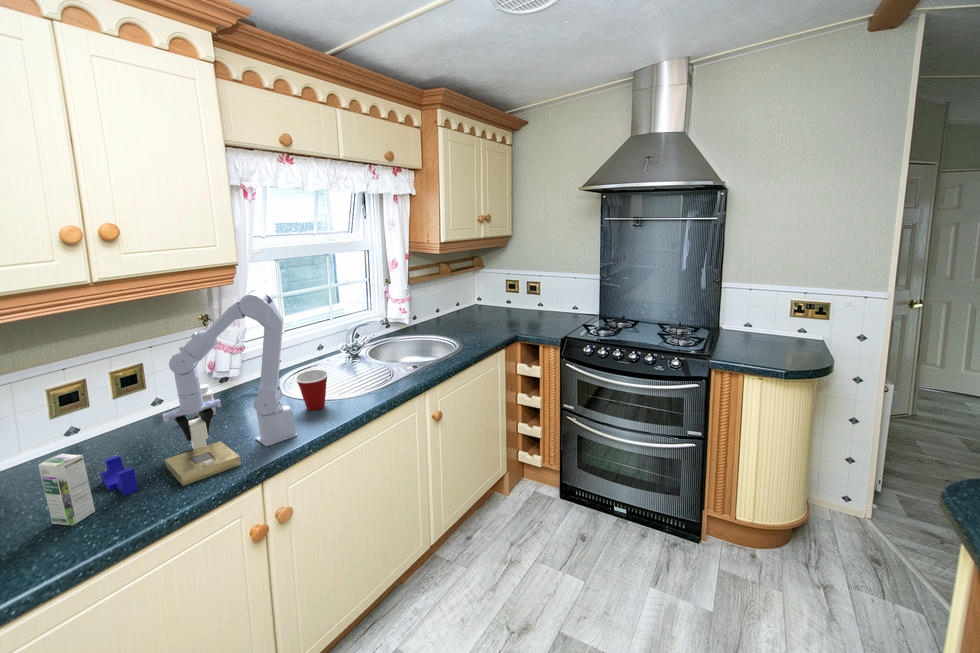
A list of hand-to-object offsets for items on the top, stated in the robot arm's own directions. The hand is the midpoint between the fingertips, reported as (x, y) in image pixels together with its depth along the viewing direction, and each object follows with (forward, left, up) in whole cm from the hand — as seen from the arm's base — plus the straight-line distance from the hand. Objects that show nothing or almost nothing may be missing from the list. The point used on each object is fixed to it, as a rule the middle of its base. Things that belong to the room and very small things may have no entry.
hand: (197, 436), depth 148 cm
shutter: (+3, +13, -1) cm, 13 cm away
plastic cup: (-37, -2, -4) cm, 37 cm away
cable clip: (+21, +8, -4) cm, 23 cm away
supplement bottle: (-10, -25, -4) cm, 27 cm away
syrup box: (+31, +16, -4) cm, 35 cm away
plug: (0, 0, -3) cm, 3 cm away
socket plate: (+3, +13, -3) cm, 14 cm away
